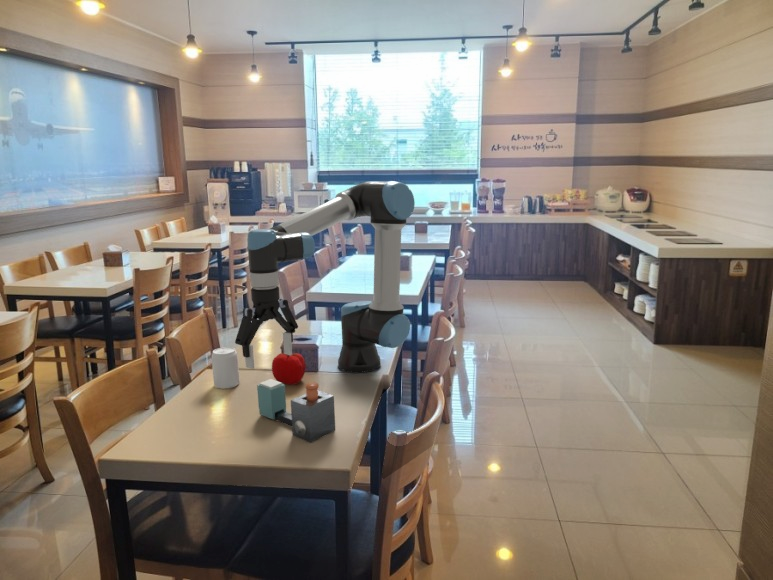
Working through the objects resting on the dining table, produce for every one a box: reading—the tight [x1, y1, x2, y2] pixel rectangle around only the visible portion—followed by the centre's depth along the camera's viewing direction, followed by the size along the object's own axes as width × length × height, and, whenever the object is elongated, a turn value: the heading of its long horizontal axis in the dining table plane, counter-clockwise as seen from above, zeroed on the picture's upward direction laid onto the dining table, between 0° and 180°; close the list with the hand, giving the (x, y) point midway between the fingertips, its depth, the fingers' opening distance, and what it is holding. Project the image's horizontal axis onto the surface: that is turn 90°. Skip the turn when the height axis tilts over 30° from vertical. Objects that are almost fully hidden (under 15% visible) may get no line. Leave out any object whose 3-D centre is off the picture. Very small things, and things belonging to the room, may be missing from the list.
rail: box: [274, 410, 292, 427], centre depth 157 cm, size 2×17×2 cm, turn 51°
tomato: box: [271, 351, 306, 385], centre depth 186 cm, size 11×13×10 cm
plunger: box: [304, 382, 319, 402], centre depth 148 cm, size 3×3×6 cm
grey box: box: [290, 389, 336, 444], centre depth 149 cm, size 9×7×10 cm
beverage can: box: [211, 346, 241, 390], centre depth 183 cm, size 8×8×12 cm
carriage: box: [256, 378, 287, 420], centre depth 160 cm, size 5×6×9 cm
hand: (269, 360), depth 157 cm, fingers open, 13 cm apart
